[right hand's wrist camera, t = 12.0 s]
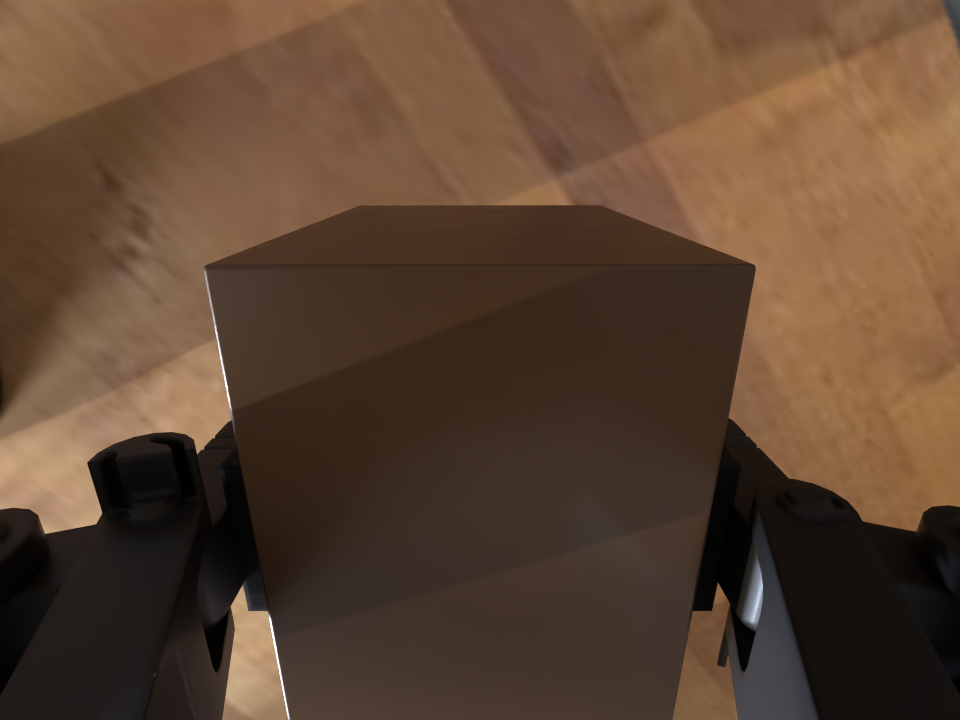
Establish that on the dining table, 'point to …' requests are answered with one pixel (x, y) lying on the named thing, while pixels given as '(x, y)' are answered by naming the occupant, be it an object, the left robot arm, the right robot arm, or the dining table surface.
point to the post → (480, 455)
